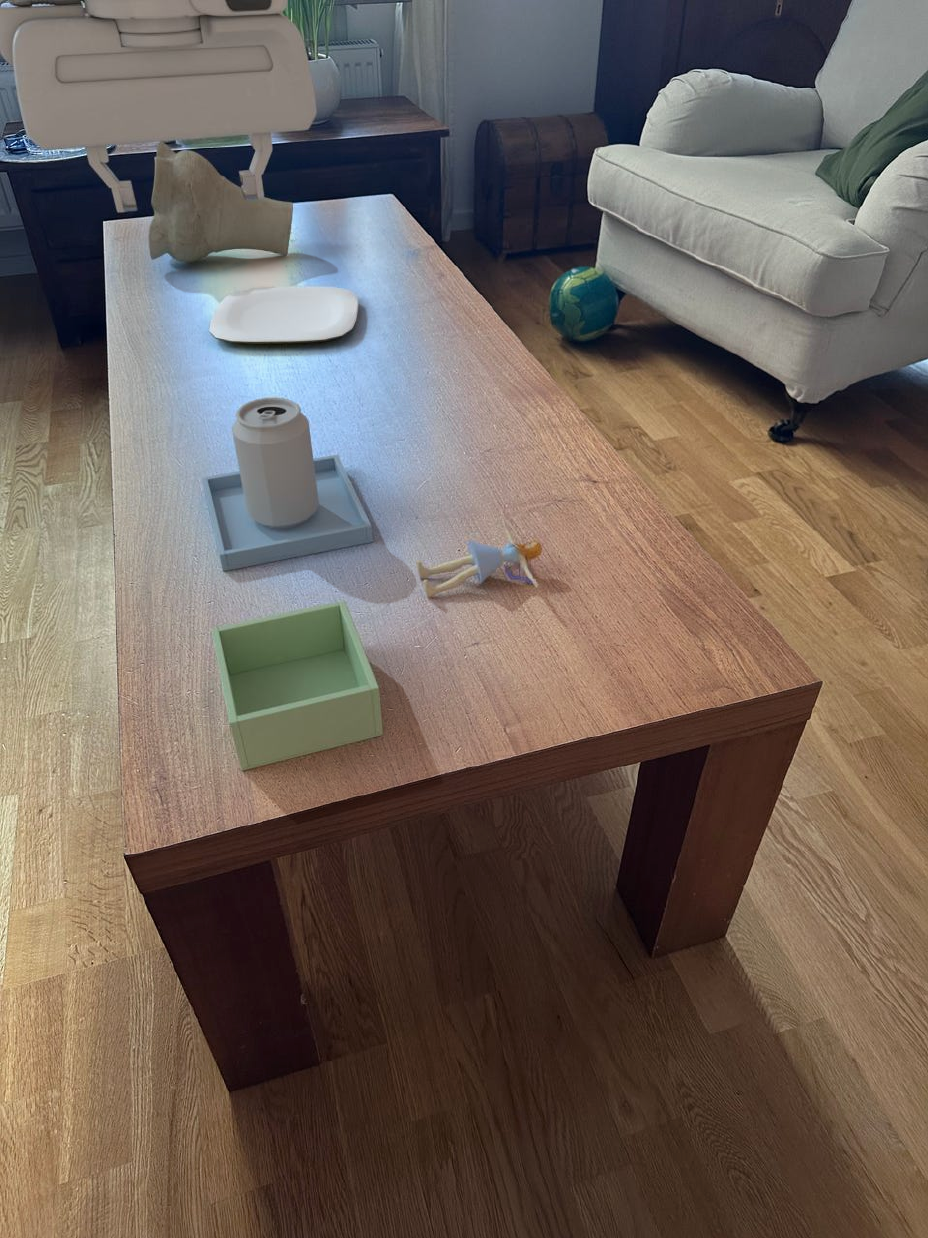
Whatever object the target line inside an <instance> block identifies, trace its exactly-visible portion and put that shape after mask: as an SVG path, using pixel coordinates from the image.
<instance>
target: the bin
mask: <svg viewBox="0 0 928 1238" xmlns="http://www.w3.org/2000/svg"><path fill="white" fill-rule="evenodd" d="M348 607H349V606H348V605H347V602H346V600H344V599H343V600H339V601H334V602H329V603H325V604H320V605H315V606H310V607H306V608H302V609H297V610H291V611H286V612H282V613H278V614H273V615H268V616H263V617H259V618H254V619H250V620H245V621H240V622H236V623H231V624H225V625H222V626H221V625H220V626H216V627H212V628H210V630H211V636H212V641H213V646H214V651H215V658H216V662H217V666H218V672H219V677H220V682H221V687H222V692H223V697H224V702H225V708H226V713H227V718H228V723H229V727H230V731H231V735H232V739H233V743H234V747H235V750H236V755H237V759H238V763H239V767H240V770H241V772H243V771H247V770H251V769H255V768H259V767H262V766H263V767H264V766H267V765H271V764H274V763H279V762H282V761H283V762H284V761H286V760H290V759H295V758H298V757H299V758H300V757H302V756H306V755H310V754H313V753H318V752H322V751H326V750H329V749H335V748H337V747H342V746H346V745H349V744H353V743H357V742H361V741H365V740H369V739H373V738H377V737H381V736H383V735H384V730H383V719H382V708H381V707H382V706H381V695H380V687H379V684H378V681H377V679H376V677H375V674H374V671H373V669H372V667H371V663H370V661H369V659H368V656H367V653H366V651H365V648H364V646H363V643H362V641H361V638H360V636H359V633H358V630H357V628H356V626H355V623H354V620H353V617H352V615H351V612H350V610H349V608H348Z"/></svg>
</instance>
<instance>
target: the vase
mask: <svg viewBox="0 0 928 1238" xmlns="http://www.w3.org/2000/svg"><path fill="white" fill-rule="evenodd" d="M157 143H158V144H157V148H156V156H154V179H153V186H152V187H153V188H152V194H151V200H150V203H151V207H152V209H153V212H154V214H153V217H152V220H151V222H150V225H149V227H148V235H147V236H148V239H147V240H148V241H147V242H148V249H149V256H150V259H151V260H156V259H159V258H160V257H162V256H164V255H166V254H168V255H169V256H170V257H171V258H172V259H173V260H174V261H176V262H180V263H192V262H196V261H199V260H201V259H204V258H206V257H208V256H209V255H211V254H212V253H216V254H217V253H220V252H223V251H224V252H225V251H231V250H252V251H253V250H254V251H263V252H268V253H274V254H278V255H282V256H285V257H287V256H288V253H289V247H290V241H291V234H292V233H291V232H292V224H293V215H294V213H293V212H294V202H290V201H283V200H282V201H281V200H277V199H271V198H269V197H266V196H264V199H256V200H245V199H244V197H243V194H242V189H241V186H238V185H236V183H234V182H232V181H231V180H229V179H227V177H225V176H224V175H221V174H220V173H219V172H218V170H217V169H216V168H215V167H214V165H213V164H212V163H211V162H210V161H209V160H208V159H206V157H205V156H203V155H202V154H199V153H198V152H195V151H193V150H188V149H183V150H180V151H178V152H177V153H176V152H175V151H174V150H173V149H171V147H170V146H168V145H167V144H166V143H165V141H159V142H157Z"/></svg>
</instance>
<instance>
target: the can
mask: <svg viewBox="0 0 928 1238" xmlns="http://www.w3.org/2000/svg"><path fill="white" fill-rule="evenodd" d="M301 410H302V409H301V407H300V405H299V403H297V402H295V401H293V400H291V399H288V398H285V397H277V396H276V397H275V396H274V397H263V398H262V397H261V398H257V399H254V400H250V401H248V402H246V403H245V404H243V405H241V406H240V407H239V408H238V409H237V411H236V412H235V413H236V414H235V418H236V420H235V421H234V422H233V424H232V427H231V434H232V438H233V443H234V449H235V454H236V459H237V464H238V465H237V466H238V470H239V471H240V476H241V481H242V487H243V492H244V497H245V502H246V508H247V512H248V515H249V517H251V518H252V519H253V520H254V521H256V522H258V523H260V524H262V525H264V526H266V527H268V528H275V529H286V528H291V527H295V526H298V525H300V524H303V523H304V522H305V521H307V520H308V519H309V518H310V517H311V516H312V515H313V514H314V513H315V512H316V510H317V509H318V504H319V500H318V492H317V484H316V476H315V468H314V460H313V459H314V454H313V446H312V437H311V430H310V421H309V419H308V417H307V416H306V415H305V414H304V413H302V412H301Z"/></svg>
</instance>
